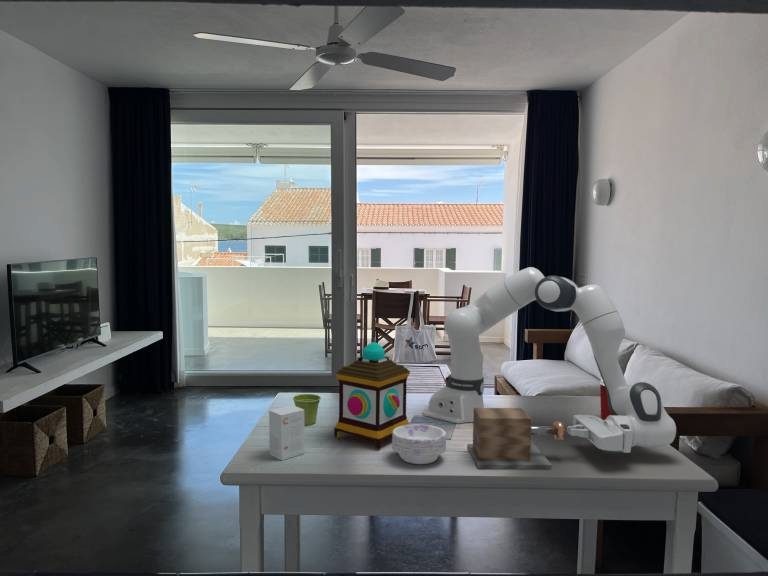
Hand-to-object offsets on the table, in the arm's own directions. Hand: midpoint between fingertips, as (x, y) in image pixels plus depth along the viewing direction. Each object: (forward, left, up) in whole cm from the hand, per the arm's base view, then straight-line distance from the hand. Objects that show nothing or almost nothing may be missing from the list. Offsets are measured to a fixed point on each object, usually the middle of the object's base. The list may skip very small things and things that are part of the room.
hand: (568, 430), depth 159 cm
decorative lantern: (-57, -13, -8) cm, 59 cm away
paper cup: (+6, +44, -8) cm, 45 cm away
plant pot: (-83, -12, -8) cm, 84 cm away
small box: (-71, -38, -8) cm, 81 cm away
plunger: (-9, -5, -2) cm, 11 cm away
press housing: (-15, -9, -8) cm, 19 cm away
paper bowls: (-37, -22, -8) cm, 43 cm away
